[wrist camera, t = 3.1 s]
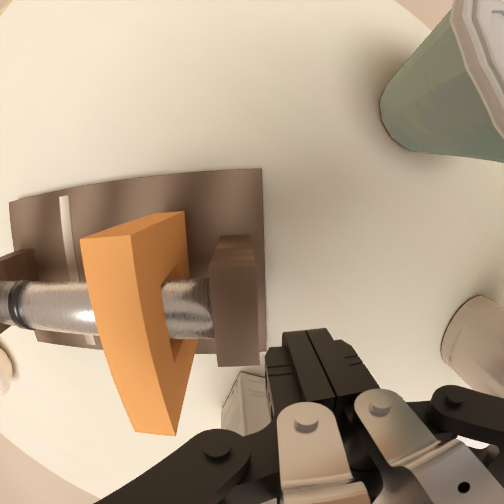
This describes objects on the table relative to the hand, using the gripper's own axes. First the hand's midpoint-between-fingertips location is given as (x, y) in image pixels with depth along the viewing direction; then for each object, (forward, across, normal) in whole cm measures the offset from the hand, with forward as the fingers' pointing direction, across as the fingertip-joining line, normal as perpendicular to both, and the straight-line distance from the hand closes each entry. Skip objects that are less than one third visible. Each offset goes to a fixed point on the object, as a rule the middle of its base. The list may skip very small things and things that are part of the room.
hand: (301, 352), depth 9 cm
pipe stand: (+13, +12, 0) cm, 17 cm away
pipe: (+6, +12, 0) cm, 13 cm away
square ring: (+9, +6, 0) cm, 11 cm away
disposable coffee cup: (+12, -13, -12) cm, 22 cm away
